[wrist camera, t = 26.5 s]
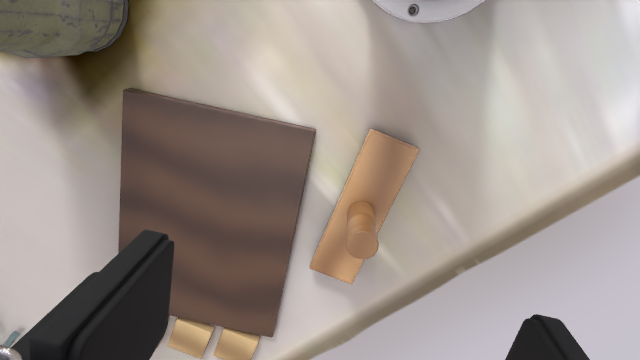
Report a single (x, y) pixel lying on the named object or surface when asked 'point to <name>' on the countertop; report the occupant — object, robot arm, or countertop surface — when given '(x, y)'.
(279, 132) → the tray
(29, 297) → the countertop surface
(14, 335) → the cutlery set
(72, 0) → the olive green flask
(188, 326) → the crumb
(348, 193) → the wooden knob plate
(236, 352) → the crumb
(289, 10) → the countertop surface
